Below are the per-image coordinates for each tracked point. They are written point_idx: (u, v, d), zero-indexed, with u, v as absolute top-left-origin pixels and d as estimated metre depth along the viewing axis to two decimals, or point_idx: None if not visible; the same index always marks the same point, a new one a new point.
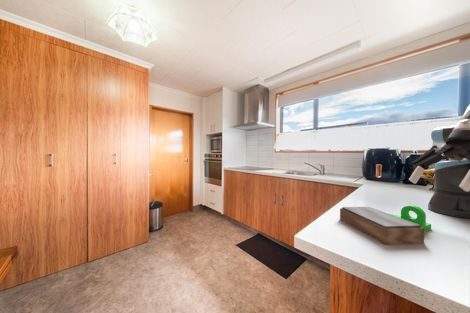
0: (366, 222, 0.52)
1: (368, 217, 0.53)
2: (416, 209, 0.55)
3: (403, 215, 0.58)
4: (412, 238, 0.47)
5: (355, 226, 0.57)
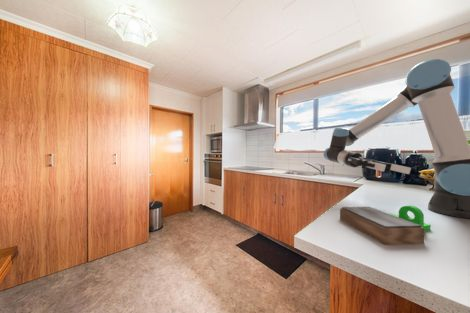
0: (366, 222, 0.52)
1: (368, 217, 0.53)
2: (413, 209, 0.55)
3: (401, 215, 0.58)
4: (412, 238, 0.47)
5: (355, 226, 0.57)
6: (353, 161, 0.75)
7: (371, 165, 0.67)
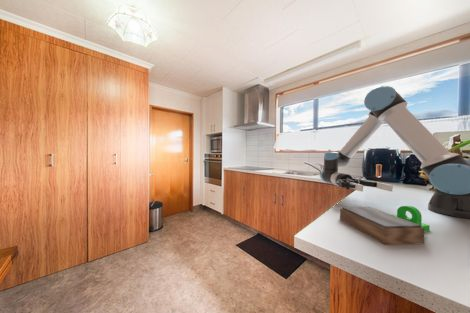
0: (366, 222, 0.52)
1: (368, 217, 0.53)
2: (411, 209, 0.55)
3: (399, 215, 0.58)
4: (412, 238, 0.47)
5: (355, 226, 0.57)
6: (339, 183, 0.82)
7: (352, 186, 0.74)
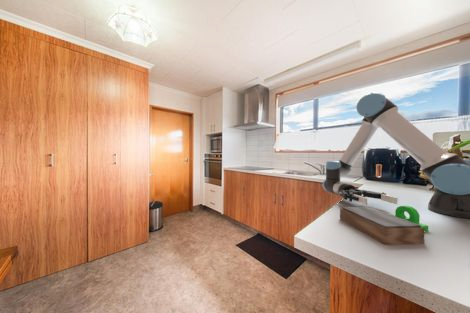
0: (366, 222, 0.52)
1: (368, 217, 0.53)
2: (409, 209, 0.55)
3: (397, 215, 0.58)
4: (412, 238, 0.47)
5: (355, 226, 0.57)
6: (342, 194, 0.80)
7: (355, 199, 0.72)
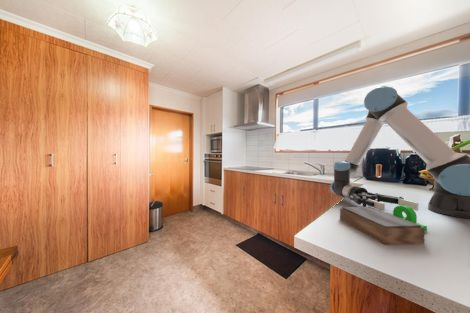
0: (366, 222, 0.52)
1: (368, 217, 0.53)
2: (406, 209, 0.55)
3: (395, 215, 0.58)
4: (412, 238, 0.47)
5: (355, 226, 0.57)
6: (354, 199, 0.73)
7: (370, 204, 0.64)
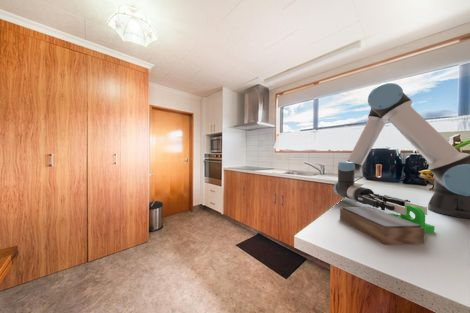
0: (366, 222, 0.52)
1: (368, 217, 0.53)
2: (414, 209, 0.54)
3: (402, 215, 0.58)
4: (412, 238, 0.47)
5: (355, 226, 0.57)
6: (366, 201, 0.68)
7: (390, 207, 0.60)
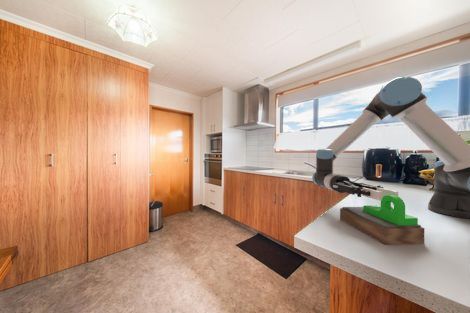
0: (366, 222, 0.52)
1: (368, 217, 0.53)
2: (393, 199, 0.49)
3: (382, 206, 0.52)
4: (412, 238, 0.47)
5: (355, 226, 0.57)
6: (342, 188, 0.63)
7: (366, 193, 0.55)
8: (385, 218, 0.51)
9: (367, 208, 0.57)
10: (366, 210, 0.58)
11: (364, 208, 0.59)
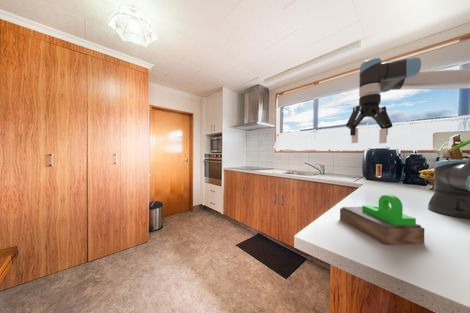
0: (366, 222, 0.52)
1: (368, 217, 0.53)
2: (390, 198, 0.49)
3: (380, 206, 0.52)
4: (412, 238, 0.47)
5: (355, 226, 0.57)
6: (352, 116, 0.74)
7: (351, 134, 0.73)
8: (383, 218, 0.51)
9: (366, 208, 0.58)
10: (365, 210, 0.58)
11: (363, 208, 0.59)
